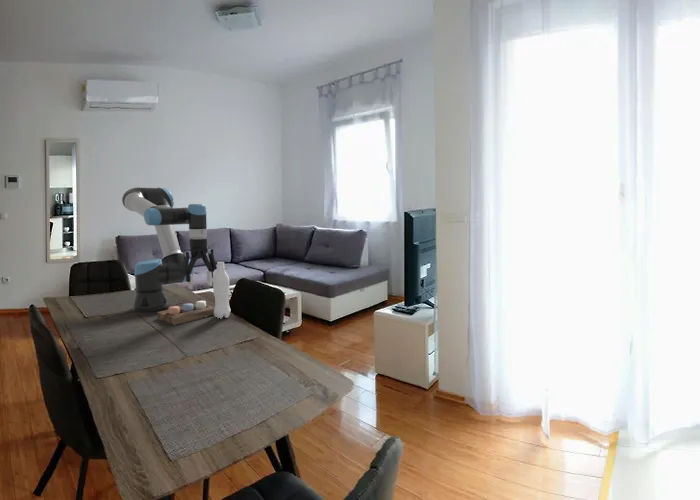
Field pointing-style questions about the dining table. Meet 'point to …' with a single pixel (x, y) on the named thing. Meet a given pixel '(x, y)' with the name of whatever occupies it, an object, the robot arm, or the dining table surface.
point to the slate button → (187, 307)
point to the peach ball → (174, 310)
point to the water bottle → (221, 292)
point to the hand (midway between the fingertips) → (200, 287)
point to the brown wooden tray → (185, 315)
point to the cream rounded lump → (200, 304)
